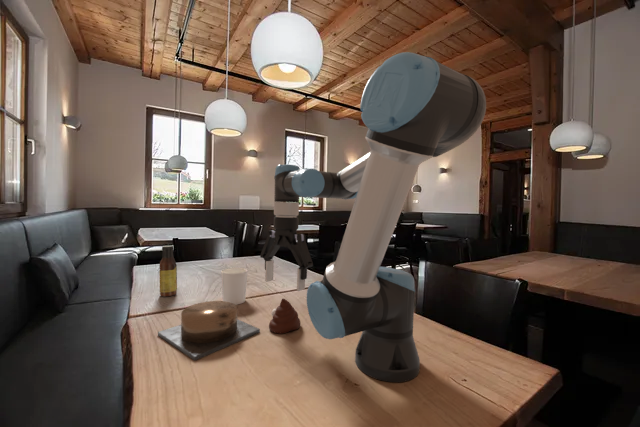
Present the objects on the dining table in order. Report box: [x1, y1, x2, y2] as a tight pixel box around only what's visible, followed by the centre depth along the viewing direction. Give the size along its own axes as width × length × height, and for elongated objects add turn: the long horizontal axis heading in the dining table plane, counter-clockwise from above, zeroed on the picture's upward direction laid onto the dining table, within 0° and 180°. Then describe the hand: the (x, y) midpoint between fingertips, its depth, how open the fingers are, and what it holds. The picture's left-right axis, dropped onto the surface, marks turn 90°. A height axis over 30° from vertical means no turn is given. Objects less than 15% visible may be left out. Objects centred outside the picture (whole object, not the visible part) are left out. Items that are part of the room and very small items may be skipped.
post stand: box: [157, 300, 261, 361], centre depth 82 cm, size 20×20×7 cm
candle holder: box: [220, 267, 249, 306], centre depth 109 cm, size 10×10×12 cm
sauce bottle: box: [158, 245, 178, 298], centre depth 115 cm, size 7×6×20 cm
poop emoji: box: [268, 298, 301, 335], centre depth 87 cm, size 10×8×9 cm
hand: (284, 285), depth 87 cm, fingers open, 13 cm apart
